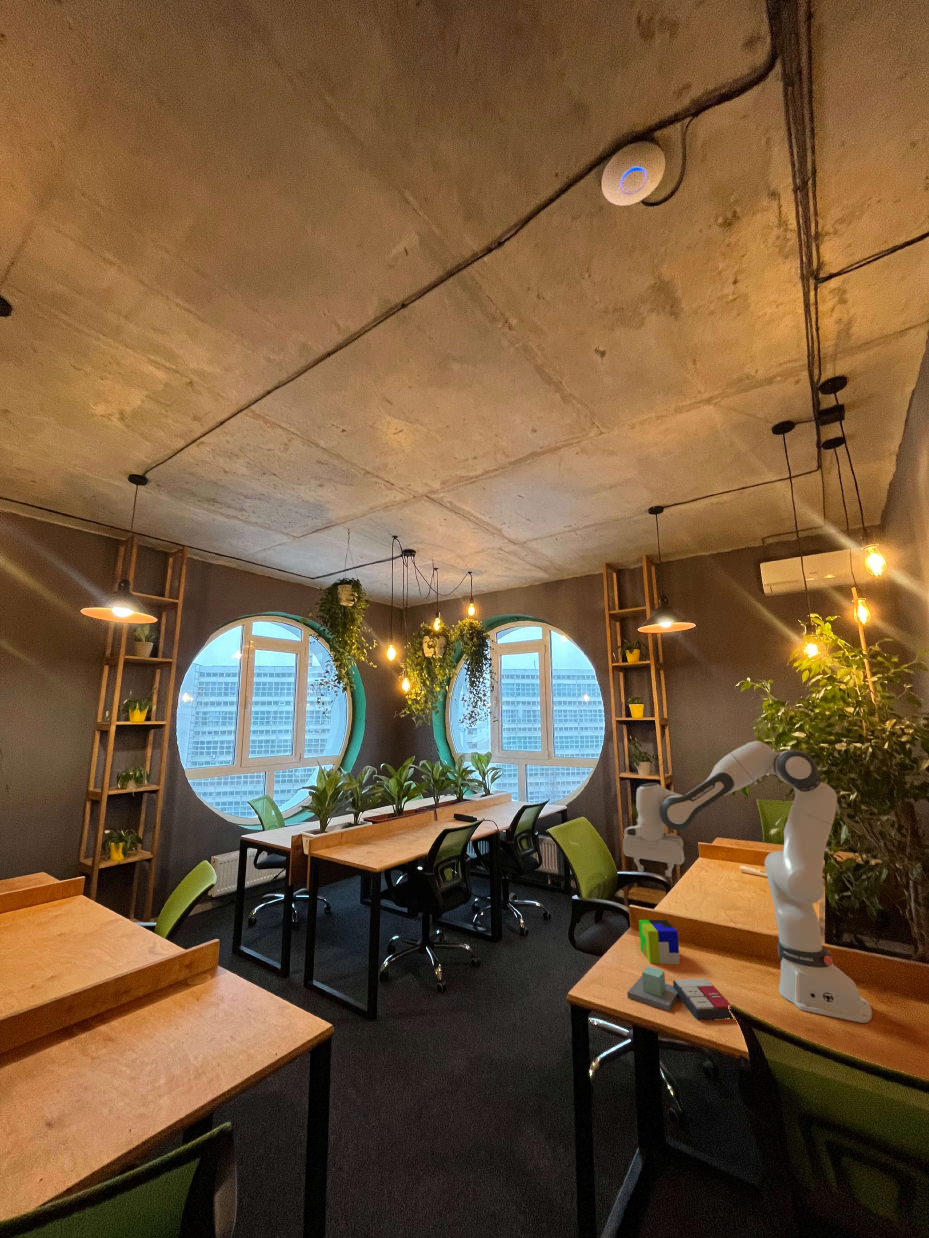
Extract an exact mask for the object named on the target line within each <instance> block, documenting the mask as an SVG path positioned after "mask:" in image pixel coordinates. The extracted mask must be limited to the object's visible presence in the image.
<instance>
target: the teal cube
mask: <svg viewBox="0 0 929 1238" xmlns="http://www.w3.org/2000/svg"><path fill="white" fill-rule="evenodd" d="M641 973H642V974H641V975H642V978H643V991H645V992H648V993H651V994H654V995H657V996H661V995H662V994H663V992H664V991H665V990H666V988H665V984H666V975H665V970H662V969H659V968H655V967H652V966H649V965H647V966H646V968H644V969H643V971H642V972H641Z"/></svg>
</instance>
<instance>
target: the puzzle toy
mask: <svg viewBox="0 0 929 1238" xmlns="http://www.w3.org/2000/svg"><path fill="white" fill-rule="evenodd" d="M638 926H639V943H640V945H639V946H640V951H641V952H642V954H643V955H644V957H645V958H646V959H647V961H648V963H650V964H678V965H680V963H681V960H680V950H679V949H680V947H679V935H678V933H679V932H678V930H677V929H676V928H675V927H673V925H672V924H670V922H669V921H668V920H667V919H639V920H638Z"/></svg>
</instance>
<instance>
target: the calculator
mask: <svg viewBox="0 0 929 1238" xmlns="http://www.w3.org/2000/svg"><path fill="white" fill-rule="evenodd" d="M672 982H673V983H672V986H673V987H674V988H675V990H676V991H677V992H678V999H679V1001H680V1002H681V1003H683V1005H684V1007H686V1009H687V1010H688V1011H689V1012H690V1014H691V1015H692V1016H693V1017H694V1019H695V1020H696V1019H697V1020H696V1021H698V1020H706V1021H716V1020H715V1019H725V1018H726V1019H727V1018H730V1019H733V1017H732V1015H731V1013H730V1012H729V1009H728V1005H732V1004H731V1003H730V1002H729V1001H728V1000H727V998H726V997H725V996H723V994H722V993H721V992H720V991H719V990H718V989H717V987H716V986H714V985H713V984H712V982H710V981H709V980H708V979H707V978H693V979H692V978H691V979H675V980H673V981H672Z"/></svg>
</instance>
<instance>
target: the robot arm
mask: <svg viewBox="0 0 929 1238" xmlns="http://www.w3.org/2000/svg"><path fill="white" fill-rule="evenodd" d="M817 766H818V765H817V764H816V762H815V760H814V759H813V757H811V756H810V755H809V754H808V753H806V752H804V751H802V750H796V749H788V750H784V751H777V752H776V751H774V750H773V749H772V748H771V747H770V746H769V745H767V743H765V742H764V741H763V742H762V741H760V740H754V741H750V742H749V743H746V744H743V745H741V746H740V747H737V748H736V749H734V750H733V751H730V752H729V753H728V754H726V755H725V756H723V757H722V758H721V759H720V760H719V761H718V762H717V763H716V764H715V765H714V766H713V769H712V771H711V773H710V775H709V776H708V777H707V778H706V780H704V781H703V782H701V784H698V785H697V786H696V787H695V788H693V789H692V790H691V791H689V792H687V793H686V794H684V795H682V794H679V793H677V792H674V791H671V790H669V789H666V787H663V786H662V785H660V784H659V783H657V782H647V783H643V784H640V785H639V786H638V787H637V789H636V795H635V801H636V803H635V804H636V811H637V815H638V816H637V824H635V825H631V826H628V827H626V828H625V829H624V837H623V842H622V852H623V854H624V855H625V857H630V858H633V861H634V863H635V865H636V867H637V872H639V873H643V872H644V871H645V870H644V865H642V864H641V863H640V860H641V859H642V860H648V861H653V862H654V861H655V862H660V863H661V862H662V863H665V864H667V866H668V869H666V870H665V871H664V874H665V875H664V876H665V877H668V878H671V877H672V871H673V869H674V867H675V865H677V866H681V865H683V863H684V862H685V855H684V853H685V852H684V849H683V848H684V841H683V838H682V837H681V836H679V835H678V834H674V833H673V834H671V833H668V832H665V831H666V830H665V826H666V827H667V828H669V829H671V830H674V831H683V830H685V829H687V828H689V827H690V825H691V824H692V823H693V821H694V819H695V817H696V816H697V814H699V813H700V812H701V811H702V810H705V809H706V808H707V807H708V806H710V805H712V804H713V803H715V802H716V801H718V800H719V799H720V798H723V797H725V796H727V795H728V794H731V793H734V792H736V791H739V790H741V789H743V788H745V787H747V786H749V785H751V784H752V783H754V782H756V781H757V780H759V779H760V778H762V777H764V776H767V775H772V776H774V777H775V778H777V780H778V779H779V781H781V782H783V783H785V784H787V785H790V786H792V787H793V790H794V800H793V802H792V805H791V808H790V811H789V814H788V817H787V820H786V823H785V826H784V829H783V841H784V842H783V850H782V851H780V850H778V851H776V850H775V851H773V852H769V853H768V855H767V856H766V857H765V859H764V870H765V872H766V877H767V881H768V887H769V891H770V894H771V895H770V896H771V899H772V903H773V906H774V911H775V912H774V913H775V916H776V926H777V935H778V940H777V952H778V957H779V961H780V976H779V977H780V979H779V983H778V984H779V985H778V988H777V989H778V993H779V994H780V995H781V997H783V998H785V999H786V1000H788V1001H789V1002H791V1003H792V1004H794V1005H795V1006H796V1007H797V1008H798V1009H799V1010H801V1011H805V1012H808V1013H813V1014H818V1015H823V1016H828V1017H832V1018H838V1019H842V1020H847V1021H851V1022H855V1023H856V1022H857V1023H861V1024H866V1023H869V1022H870V1021H871V1020H872V1018H873V1011H872V1007H871V1005H870V1003H869V1002H868V1001H867V1000H866V999H864V998H863V997H861V995H860V991H859V989H858V987H857V985H856V983H855V982H854V980H853V979H852V978H851V977H849V976H848V975H846V973H844V972H843V971H842V970H841V969H840V968H838V967H837V966H836V965H835V964H833V959H832V953H831V951H830V949H828V950H827V949H825V947H823V944H822V937H821V928H820V921H819V917H818V915H817V913H816V910H815V908H814V904H815V903H817V902H819V901H820V900H821V899H822V898H823V895H824V891H825V889H824V888H825V887H824V883H823V870H824V861H825V859H824V858H825V851H826V846H827V843H828V839H829V836H830V833H831V831H832V826H833V823H834V822H835V821H834V820H835V818H836V817H835V816H836V813H837V811H836V810H837V802H838V796H837V795H838V794H837V793H836V790H834V789H833V788H832V787H831V786H830V785H828V784H827V783H824V782H822V779H821V776H820V773H819V769H818V767H817Z"/></svg>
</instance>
